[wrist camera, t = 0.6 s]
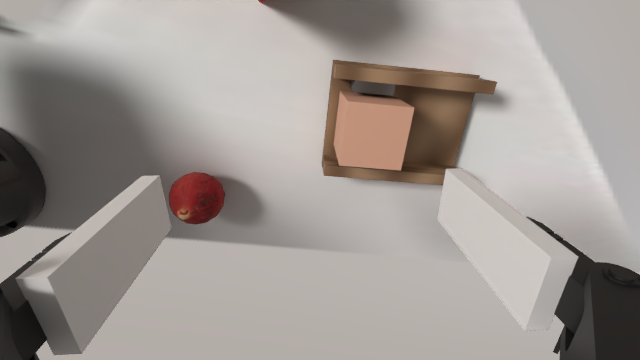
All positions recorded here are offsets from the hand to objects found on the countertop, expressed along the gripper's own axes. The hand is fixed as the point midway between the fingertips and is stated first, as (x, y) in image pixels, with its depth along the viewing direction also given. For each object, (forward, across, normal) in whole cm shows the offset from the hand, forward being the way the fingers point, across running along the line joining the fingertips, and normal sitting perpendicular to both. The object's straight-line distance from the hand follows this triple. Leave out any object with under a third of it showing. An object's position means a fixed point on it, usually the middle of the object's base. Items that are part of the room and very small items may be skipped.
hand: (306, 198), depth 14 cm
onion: (+23, -12, -9) cm, 28 cm away
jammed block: (+21, +7, -1) cm, 22 cm away
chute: (+22, +11, -2) cm, 25 cm away
